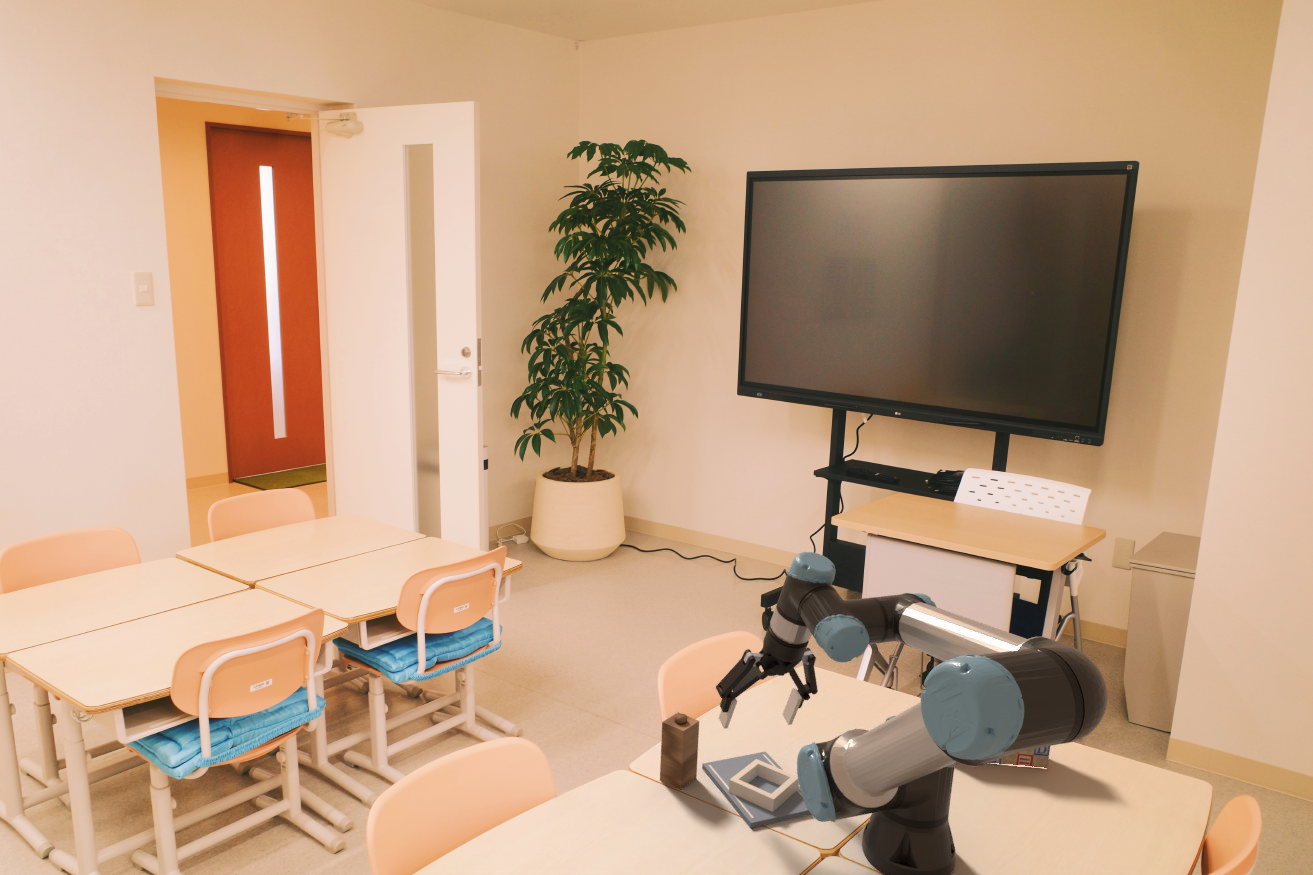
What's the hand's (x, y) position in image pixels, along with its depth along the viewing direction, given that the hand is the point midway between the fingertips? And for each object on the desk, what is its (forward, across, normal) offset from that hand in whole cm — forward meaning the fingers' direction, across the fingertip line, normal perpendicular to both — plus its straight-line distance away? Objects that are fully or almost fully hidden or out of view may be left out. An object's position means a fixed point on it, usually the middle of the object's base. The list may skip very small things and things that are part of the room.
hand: (755, 721), depth 166 cm
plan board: (+12, -2, +6) cm, 13 cm away
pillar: (+15, +11, -1) cm, 19 cm away
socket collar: (+11, -2, +8) cm, 14 cm away
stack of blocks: (+6, -53, +8) cm, 54 cm away
